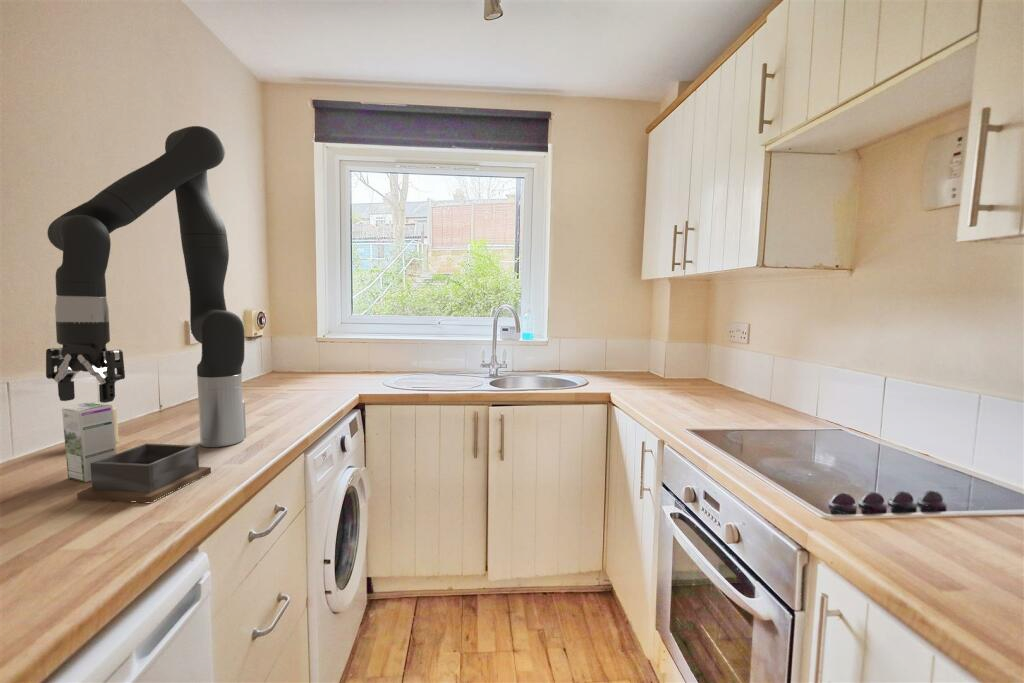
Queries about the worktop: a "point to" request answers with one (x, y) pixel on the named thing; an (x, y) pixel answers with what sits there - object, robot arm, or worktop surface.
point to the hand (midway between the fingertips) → (87, 401)
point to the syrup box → (87, 437)
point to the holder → (143, 473)
